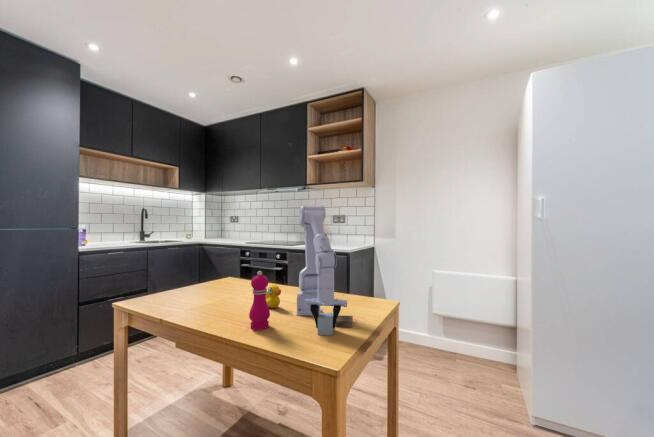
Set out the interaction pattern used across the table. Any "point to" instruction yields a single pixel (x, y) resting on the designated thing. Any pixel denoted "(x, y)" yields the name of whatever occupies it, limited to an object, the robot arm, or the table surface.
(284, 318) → the table surface
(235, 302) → the table surface
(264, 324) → the pepper mill
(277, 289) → the duckling
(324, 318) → the gray brick
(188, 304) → the table surface
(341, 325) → the base brick
